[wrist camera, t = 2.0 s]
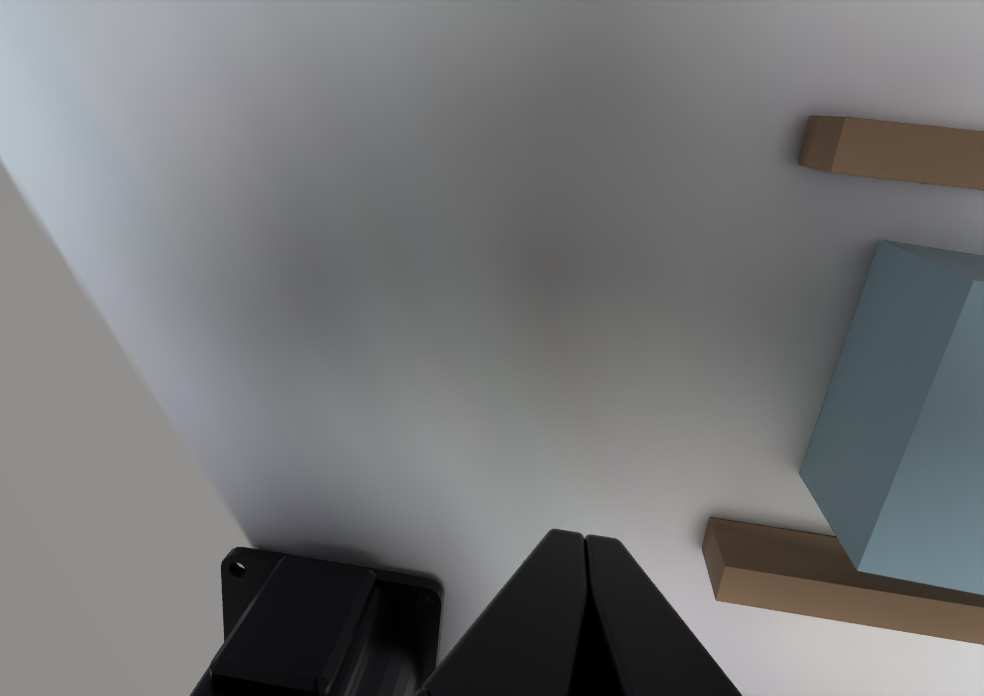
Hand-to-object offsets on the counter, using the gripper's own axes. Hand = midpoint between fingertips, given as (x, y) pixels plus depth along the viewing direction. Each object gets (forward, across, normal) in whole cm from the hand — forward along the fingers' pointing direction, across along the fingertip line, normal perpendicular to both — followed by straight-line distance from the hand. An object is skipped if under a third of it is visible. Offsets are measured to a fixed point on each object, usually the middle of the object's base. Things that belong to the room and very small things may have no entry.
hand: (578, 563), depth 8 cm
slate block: (+9, -9, 0) cm, 13 cm away
